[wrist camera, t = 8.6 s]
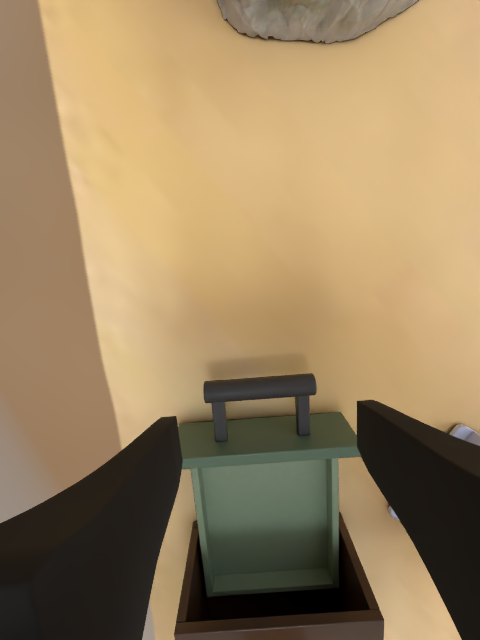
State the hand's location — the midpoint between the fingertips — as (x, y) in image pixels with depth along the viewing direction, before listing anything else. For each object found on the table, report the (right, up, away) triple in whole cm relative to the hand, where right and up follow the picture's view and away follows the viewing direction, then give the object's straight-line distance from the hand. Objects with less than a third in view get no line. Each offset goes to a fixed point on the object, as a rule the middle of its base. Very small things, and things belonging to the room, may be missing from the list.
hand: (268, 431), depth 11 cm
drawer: (+1, -8, +12) cm, 14 cm away
